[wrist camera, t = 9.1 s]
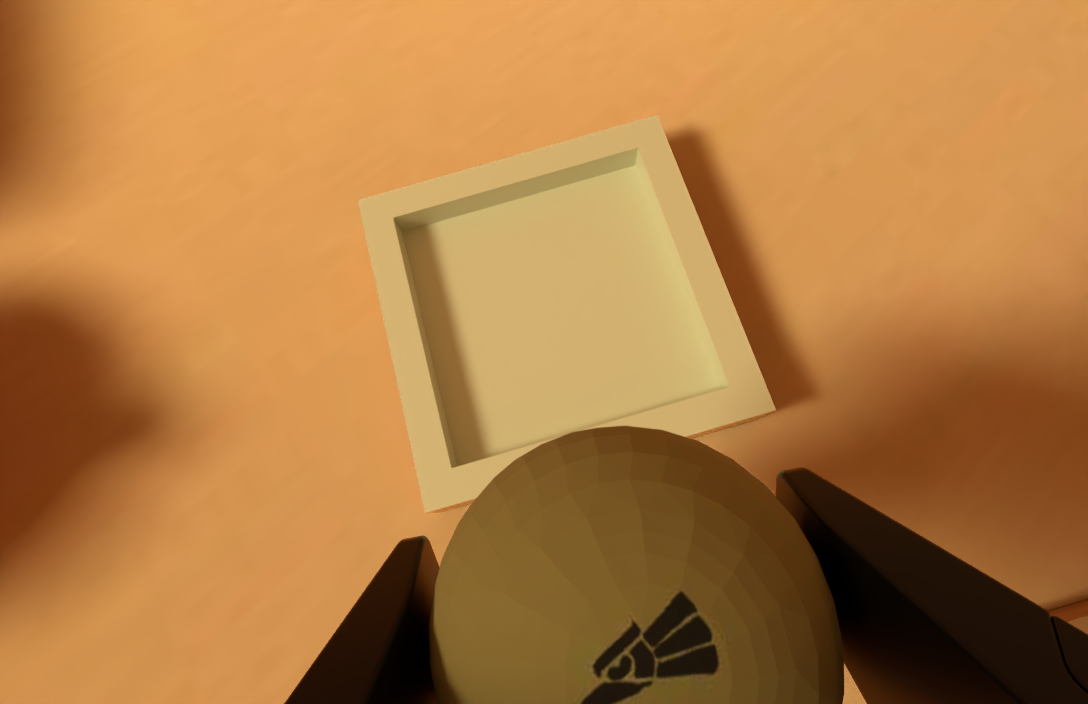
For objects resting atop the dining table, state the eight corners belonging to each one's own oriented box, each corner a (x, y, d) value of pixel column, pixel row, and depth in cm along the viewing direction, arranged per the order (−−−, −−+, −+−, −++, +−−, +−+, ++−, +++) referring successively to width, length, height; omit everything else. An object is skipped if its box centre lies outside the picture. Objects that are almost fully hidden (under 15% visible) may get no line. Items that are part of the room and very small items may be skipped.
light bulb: (584, 422, 16) (589, 294, 6) (752, 550, 15) (1067, 627, 5) (459, 587, 15) (245, 724, 5) (629, 738, 14) (737, 1252, 4)
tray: (756, 419, 21) (776, 410, 19) (440, 512, 21) (425, 512, 19) (650, 148, 25) (657, 114, 22) (377, 226, 24) (357, 200, 22)
